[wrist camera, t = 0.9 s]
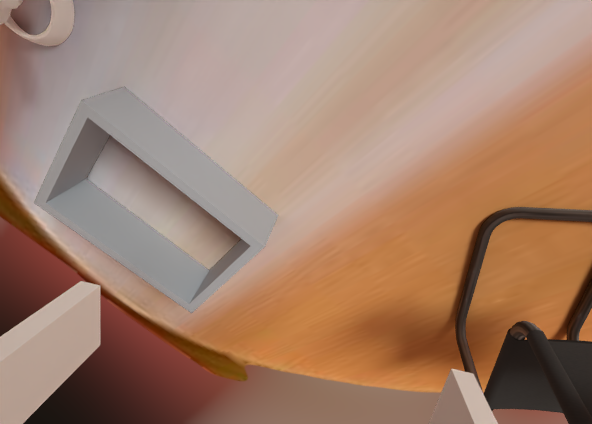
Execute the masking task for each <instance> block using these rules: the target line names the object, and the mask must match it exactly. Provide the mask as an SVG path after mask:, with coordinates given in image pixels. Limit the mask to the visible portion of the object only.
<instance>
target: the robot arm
mask: <svg viewBox="0 0 592 424" xmlns="http://www.w3.org/2000/svg"><path fill="white" fill-rule="evenodd" d="M99 346H100V285H96V284H91V283H87V282H83V281H80V282H79V283H78V284H76V285H75V286H73V287H72V288H70V289H69V290H67V291H66V292H65V293H63V294H62V295H61V296H59V297H57V298H56V299H54V300H53V301H52V302H50V303H49V304H47V305H46V306H44V307H43V308H41V309H40V310H39V311H37V312H36V313H34V314H33V315H31V316H30V317H28V318H27V319H26V320H24V321H22V322H21V323H20V324H18V325H17V326H15V327H14V328H12V329H11V330H9V331H8V332H7V333H5V334H4V335H2V336H1V337H0V424H23V423H24V422H25V421H26V420H27V419H28V417H30V416H31V414H32V413H33V412H35V411H36V410H37V409H38V407H39V406H40V405H41V404H42V403H43V402H44V401H45V400H46V399H47V398H48V397H49V396H50V395H51V394H52V393H53V392H54V391H55V390H56V389H57V388H58V387H59V386H60V385H61V384H62V383H63V382H64V381H65V380H66V379H67V378H68V377H69V376H70V375H71V374H72V373H73V372H74V371H75V370H76V369H77V368H78V367H79V366H80V365H81V364H82V363H83V362H84V361H85V360H86V359H87V358H88V357H89V356H90V355H91V354H92V353H93V352H94V351H95V350H96V349H97V348H98V347H99ZM429 424H498V423H497V421H496V419H495V417H494V415H493V413H492V411H491V409H490V407H489V405H488V403H487V401H486V399H485V397H484V395H483V392H482V390H481V388H480V386H479V384H478V382H477V380H476V378H475V376H474V374H473V373H469V372H464V371H460V370H456V369H452V368H451V371H450V373H449V375H448V378H447V380H446V383H445V385H444V387H443V390H442V392H441V395H440V397H439V399H438V402H437V404H436V407H435V409H434V412H433V414H432V416H431V419H430V421H429Z"/></svg>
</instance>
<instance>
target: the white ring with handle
mask: <svg viewBox="0 0 592 424" xmlns="http://www.w3.org/2000/svg"><path fill="white" fill-rule="evenodd" d="M22 2H23V0H0V25H1V24H3V23H4V24H5V25H6V26H7V27H8V28H9V29H11V30H12V31H13V32H15V33H16V34H18V35H19V36H21V37H23V38H25V39H27V40H29V41H31V42H34V43H36V44H40V45H44V46H55V45H59V44H61V43H63V42H64V41H66V39H67V38H68V37H69V36H70V34H71V32H72V30H73V26H74V18H75V12H74V4H73V0H50V5H51V20H50V23H49V26H48V28H47V29H46V30H45V31H44V32H42V33H41V34H38V35H29V34H27V33H26V32H24V31H23V30H22V29H21V28H20V27H19V26H18V25H17V24H16V23H15V22H14V20H13V19H12V18H11V16H10V13H11V9H17V8H18V6H19V5H21V4H22Z"/></svg>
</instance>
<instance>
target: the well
mask: <svg viewBox="0 0 592 424" xmlns="http://www.w3.org/2000/svg"><path fill="white" fill-rule="evenodd" d="M110 135H111V136H112V137H113V138H115V139H116V140H117V141H118V142H120V143H121V144H122V145H123V146H125V147H126V148H127V149H128V150H130V151H131V152H132V153H134V154H135V155H136V156H137V157H139V158H140V159H141V160H142V161H144V162H145V163H146V164H147V165H149V166H150V167H151V168H153V169H154V170H155V171H156V172H158V173H159V174H160V175H161V176H163V177H164V178H165V179H166V180H168V181H169V182H170V183H172V184H173V185H174V186H175V187H177V188H178V189H179V190H180V191H182V192H183V193H184V194H185V195H187V196H188V197H189V198H191V199H192V200H193V201H194V202H196V203H197V204H198V205H199V206H201V207H202V208H203V209H204V210H206V211H207V212H208V213H210V214H211V215H212V216H213V217H215V218H216V219H217V220H218V221H220V222H221V223H222V224H223V225H225V226H226V227H227V228H229V229H230V230H231V231H232V232H234V233H235V234H236V235H237V236H239V237H240V238H241V240H240V241H239V242H238V243H237V244H236V245H235V246H234V247H233V248H232V249H231V250H230V251H229V252H228V253H227V254H226V255H225V256H224V257H223V258H222V259H221V260H220V261H218V262H217V263H216V264H215V265H214V266H213V267H212V268H211V269H210V270H208V269H207V268H205V267H204V266H203V265H201V264H200V263H199V262H197V261H196V260H195V259H193V258H192V257H191V256H189V255H188V254H187V253H185V252H184V251H183V250H181V249H180V248H179V247H177V246H176V245H175V244H173V243H172V242H171V241H169V240H168V239H167V238H165V237H164V236H162V235H161V234H160V233H158V232H157V231H156V230H154V229H153V228H152V227H150V226H149V225H148V224H146V223H145V222H144V221H142V220H141V219H140V218H138V217H137V216H136V215H134V214H133V213H132V212H130V211H129V210H128V209H126V208H125V207H124V206H122V205H121V204H119V203H118V202H117V201H115V200H114V199H113V198H111V197H110V196H109V195H107V194H106V193H105V192H103V191H102V190H101V189H99V188H98V187H97V186H95V185H94V184H93V183H91V182H90V181H89V180H87V179H86V178H87V176H88V174H89V173H90V171H91V169H92V167H93V165H94V164H95V162H96V160H97V158H98V156H99V155H100V153H101V151H102V149H103V147H104V145H105V144H106V142H107V140H108V138H109V136H110ZM34 203H35V204H36V205H38V206H39V207H41V208H42V209H43V210H45V211H46V212H48V213H49V214H51V215H52V216H53V217H55V218H56V219H58V220H59V221H61V222H62V223H63V224H65V225H66V226H68V227H69V228H71V229H72V230H73V231H75V232H76V233H78V234H79V235H81V236H82V237H83V238H85V239H86V240H88V241H89V242H91V243H92V244H93V245H95V246H96V247H98V248H99V249H101V250H102V251H103V252H105V253H106V254H108V255H109V256H111V257H112V258H113V259H115V260H116V261H118V262H119V263H121V264H122V265H123V266H125V267H126V268H128V269H129V270H130V271H132V272H133V273H135V274H136V275H138V276H139V277H140V278H142V279H143V280H145V281H146V282H148V283H149V284H150V285H152V286H153V287H155V288H156V289H158V290H159V291H160V292H162V293H163V294H165V295H166V296H168V297H169V298H170V299H172V300H173V301H175V302H176V303H178V304H179V305H180V306H182V307H183V308H185V309H186V310H188V311H189V312H190V313H193V312H194V311H195V310H196V309H197V308H198V307H199V306H200V305H201V304H203V303H204V302H205V301H206V300H207V299H208V298H209V297H210V296H211V295H212V294H214V293H215V292H216V291H217V290H218V289H219V288H220V287H221V286H222V285H223V284H225V283H226V282H227V281H228V280H229V279H230V278H231V277H232V276H233V275H234V274H236V273H237V272H238V271H239V270H240V269H241V268H242V267H243V266H244V265H245V264H247V263H248V262H249V261H250V260H251V259H252V258H253V257H254V256H255V255H256V254H258V253H259V252H260V251H261V250H262V249H263V248H264V247H265V245H266V243H267V241H268V238H269V236H270V234H271V231H272V229H273V227H274V224H275V222H276V220H277V217H278V214H276V213H275V212H274V211H273V210H272V209H270V208H269V207H268V206H267V205H266V204H264V203H263V202H262V201H261V200H260V199H258V198H257V197H256V196H255V195H254V194H252V193H251V192H250V191H249V190H248V189H246V188H245V187H244V186H243V185H242V184H240V183H239V182H238V181H237V180H236V179H234V178H233V177H232V176H231V175H230V174H228V173H227V172H226V171H225V170H224V169H222V168H221V167H220V166H219V165H218V164H216V163H215V162H214V161H213V160H212V159H210V158H209V157H208V156H207V155H206V154H204V153H203V152H202V151H201V150H200V149H198V148H197V147H196V146H195V145H194V144H192V143H191V142H190V141H189V140H188V139H186V138H185V137H184V136H183V135H182V134H180V133H179V132H178V131H177V130H176V129H174V128H173V127H172V126H171V125H170V124H168V123H167V122H166V121H165V120H164V119H162V118H161V117H160V116H159V115H158V114H156V113H155V112H154V111H153V110H152V109H150V108H149V107H148V106H147V105H146V104H144V103H143V102H142V101H141V100H140V99H138V98H137V97H136V96H135V95H134V94H132V93H131V92H130V91H129V90H128V89H126V88H125V87H122V88H119V89H116V90H112V91H109V92H106V93H103V94H99V95H96V96H93V97H90V98H87V99H83V100H81V102H80V104H79V106H78V108H77V111H76V113H75V115H74V117H73V119H72V121H71V123H70V126H69V128H68V130H67V132H66V134H65V136H64V139H63V141H62V143H61V145H60V147H59V149H58V151H57V154H56V156H55V158H54V160H53V162H52V164H51V167H50V169H49V171H48V173H47V175H46V177H45V179H44V182H43V184H42V186H41V188H40V190H39V192H38V195H37V197H36V199H35V201H34Z"/></svg>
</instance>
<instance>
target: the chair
mask: <svg viewBox="0 0 592 424" xmlns="http://www.w3.org/2000/svg"><path fill="white" fill-rule="evenodd" d="M516 218H525V219H545V220H565V221H584V222H592V210H572V209H551V208H529V207H514V208H508V209H504V210H501V211H499V212H497V213H495V214H493V215H492V216H491V217H489V218H488V219H487V220H486V221H485V222H484V223H483V225H482V226H481V229H480V231H479V234H478V237H477V241H476V245H475V248H474V252H473V256H472V259H471V263H470V267H469V271H468V274H467V278H466V282H465V285H464V289H463V293H462V296H461V300H460V304H459V308H458V311H457V315H456V324H455V329H456V339H457V344H458V347H459V351H460V354H461V358H462V362H463V365H464V369H465V372H469V373H473V374H474V376H475V378H476V380H477V382H478V384H479V386H480V388H481V385H480V382H479V379H478V375H477V372H476V369H475V366H474V362H473V359H472V356H471V353H470V350H469V346H468V343H467V339H466V330H465V325H466V318H467V314H468V310H469V307H470V304H471V300H472V297H473V293H474V290H475V286H476V283H477V280H478V276H479V273H480V269H481V266H482V262H483V259H484V256H485V252H486V249H487V245H488V242H489V239H490V235H491V233H492V231H493V230H494V229H495V228H496V226H498V225H499V224H501V223H502V222H504V221H507V220H510V219H516ZM591 308H592V279H591V281H590V283H589V285H588V287H587V289H586V291H585V293H584V295H583V297H582V299H581V301H580V303H579V305H578V307H577V309H576V311H575V313H574V315H573V317H572V319H571V321H570V323H569V325H568V328H567V340H550V339H547V338H546V336H545V334H544V333H543V331H541V330H540V329H539V328H538V327H537V326H536V325H534V324H533V323H530V322H527V321H521V322H517V323H516V324H515V325H514V326H512V328H511V329H509V330H508V332H507V335H506V337H505V340H504V343H503V345H502V348H501V350H500V353H499V356H498V358H497V361H496V363H495V366H494V368H493V371H492V374H491V376H490V379H489V381H488V384H487V387H486V389H485V392H484V394H483V395H484V397H485V399H486V401H487V403H488V405H489V407H490V409H491V411H492V410H493V409H528V410H542V411H551V412H560V413H564V415H565V417H566V419H567V421H568V423H569V424H592V342H590V341H579V332H580V329H581V327H582V325H583V323H584V321H585V320H586V318H587V316H588V314H589V312H590V310H591ZM525 337H526V338H527V340H524V339H525ZM481 390H482V388H481ZM482 392H483V391H482Z"/></svg>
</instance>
